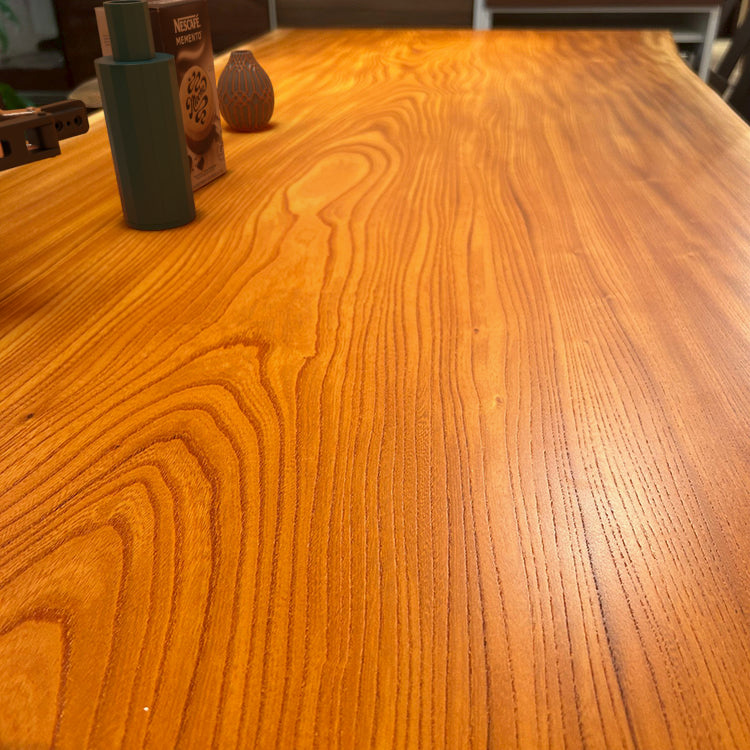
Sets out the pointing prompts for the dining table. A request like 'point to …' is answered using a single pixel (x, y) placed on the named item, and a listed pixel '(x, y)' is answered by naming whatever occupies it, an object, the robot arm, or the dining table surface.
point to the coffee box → (188, 78)
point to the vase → (245, 93)
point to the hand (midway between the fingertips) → (40, 109)
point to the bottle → (144, 122)
